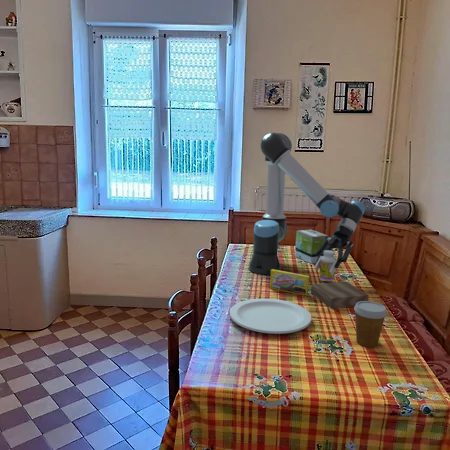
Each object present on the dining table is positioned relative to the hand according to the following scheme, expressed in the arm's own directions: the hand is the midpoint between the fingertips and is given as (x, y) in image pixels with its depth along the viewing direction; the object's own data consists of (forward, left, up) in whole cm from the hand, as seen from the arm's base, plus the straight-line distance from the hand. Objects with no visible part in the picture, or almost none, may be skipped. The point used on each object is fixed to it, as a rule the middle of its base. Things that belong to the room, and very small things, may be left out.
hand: (323, 271), depth 181 cm
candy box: (-19, -6, -6) cm, 21 cm away
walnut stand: (-3, -18, -6) cm, 19 cm away
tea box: (+13, +37, -6) cm, 39 cm away
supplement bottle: (+3, +2, -5) cm, 6 cm away
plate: (-37, -30, -6) cm, 48 cm away
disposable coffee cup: (-14, -53, -6) cm, 55 cm away
